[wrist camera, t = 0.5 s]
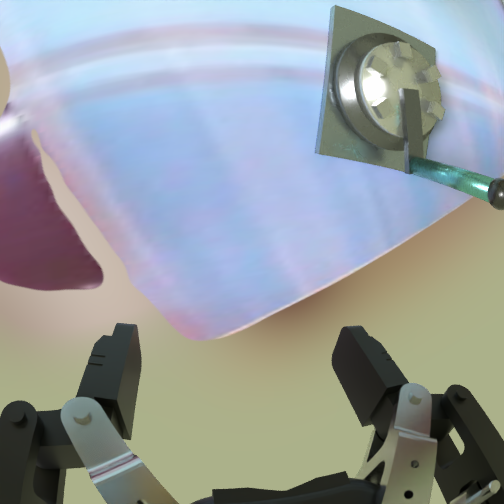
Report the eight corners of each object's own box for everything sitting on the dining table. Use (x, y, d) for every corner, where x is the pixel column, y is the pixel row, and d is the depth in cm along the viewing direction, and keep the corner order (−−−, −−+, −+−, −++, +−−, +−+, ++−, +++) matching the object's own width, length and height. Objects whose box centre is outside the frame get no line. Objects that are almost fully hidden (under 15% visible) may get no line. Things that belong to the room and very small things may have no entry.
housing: (330, 8, 29) (341, 0, 25) (429, 49, 32) (443, 47, 29) (314, 153, 37) (324, 155, 34) (416, 174, 40) (430, 179, 37)
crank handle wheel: (346, 41, 28) (452, -2, 11) (423, 52, 29) (527, 40, 12) (362, 176, 35) (471, 224, 18) (433, 169, 36) (535, 207, 19)
